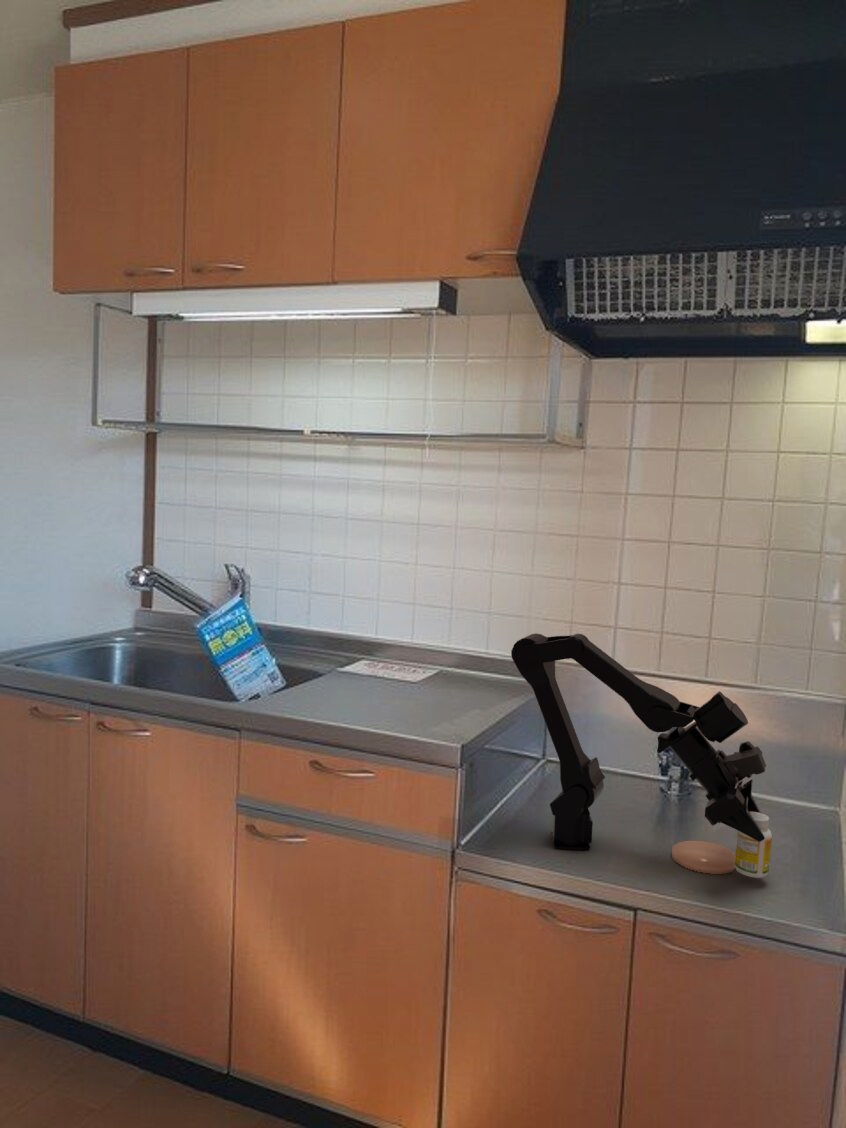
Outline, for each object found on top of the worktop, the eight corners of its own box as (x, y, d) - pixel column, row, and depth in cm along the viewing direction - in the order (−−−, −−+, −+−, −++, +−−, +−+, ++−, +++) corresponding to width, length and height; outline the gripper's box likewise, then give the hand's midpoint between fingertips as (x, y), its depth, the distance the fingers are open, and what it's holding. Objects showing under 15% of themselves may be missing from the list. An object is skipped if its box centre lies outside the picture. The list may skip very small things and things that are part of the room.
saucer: (679, 872, 150) (680, 865, 150) (665, 845, 161) (666, 839, 161) (745, 875, 150) (745, 869, 150) (726, 848, 161) (727, 842, 160)
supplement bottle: (743, 878, 144) (748, 822, 144) (729, 864, 150) (733, 809, 149) (774, 878, 145) (779, 822, 144) (759, 864, 150) (763, 809, 149)
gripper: (732, 745, 138) (802, 827, 135) (743, 717, 155) (805, 789, 152) (677, 784, 142) (743, 865, 139) (693, 753, 159) (753, 824, 156)
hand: (763, 833), depth 146 cm, fingers closed on supplement bottle, 5 cm apart
